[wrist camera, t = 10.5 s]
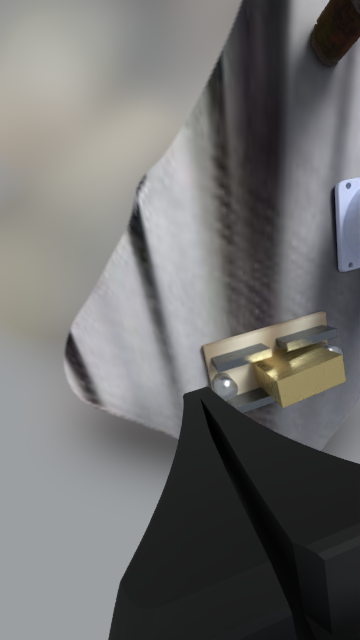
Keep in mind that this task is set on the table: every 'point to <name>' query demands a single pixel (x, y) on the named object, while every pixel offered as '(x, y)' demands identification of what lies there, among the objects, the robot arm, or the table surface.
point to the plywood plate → (264, 335)
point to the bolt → (336, 30)
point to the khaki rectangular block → (299, 373)
